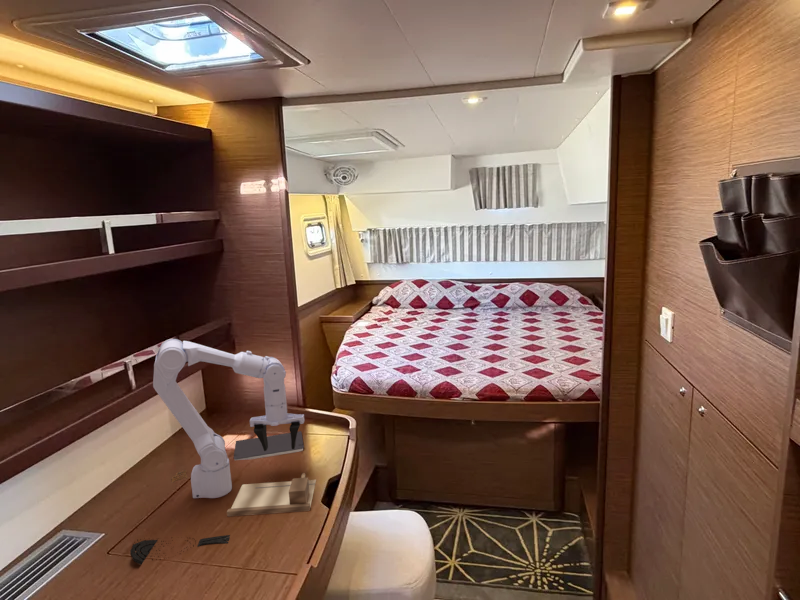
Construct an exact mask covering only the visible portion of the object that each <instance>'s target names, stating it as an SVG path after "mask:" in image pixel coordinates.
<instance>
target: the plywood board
mask: <svg viewBox="0 0 800 600" xmlns="http://www.w3.org/2000/svg"><path fill="white" fill-rule="evenodd" d="M308 481H309V498H308V502H307V503H305V504H290V500H289V489H290V486H291V482H292V480H290V481H276V482H275V481H273V482H260V483H258V482H257V483H248V484H247V483H246V484H244V483H243V484H242V485H241V487H240V489H239V491H238V492H237V495H236V497H235V499H234V501H233V503H232V506H231V508H228V509H227V511H226V516H227V517H238V516H239V517H240V516H252V515H253V516H254V515H255V516H256V515H266V514H269V515H270V514H281V513H283V514H284V513H292V512H293V513H294V512H296V513H297V512H309V511H310V510H311V506H312V502H313V501H312V500H313V496H314V492H315V488H316V483H317V482H316V481H317V479H308Z"/></svg>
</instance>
